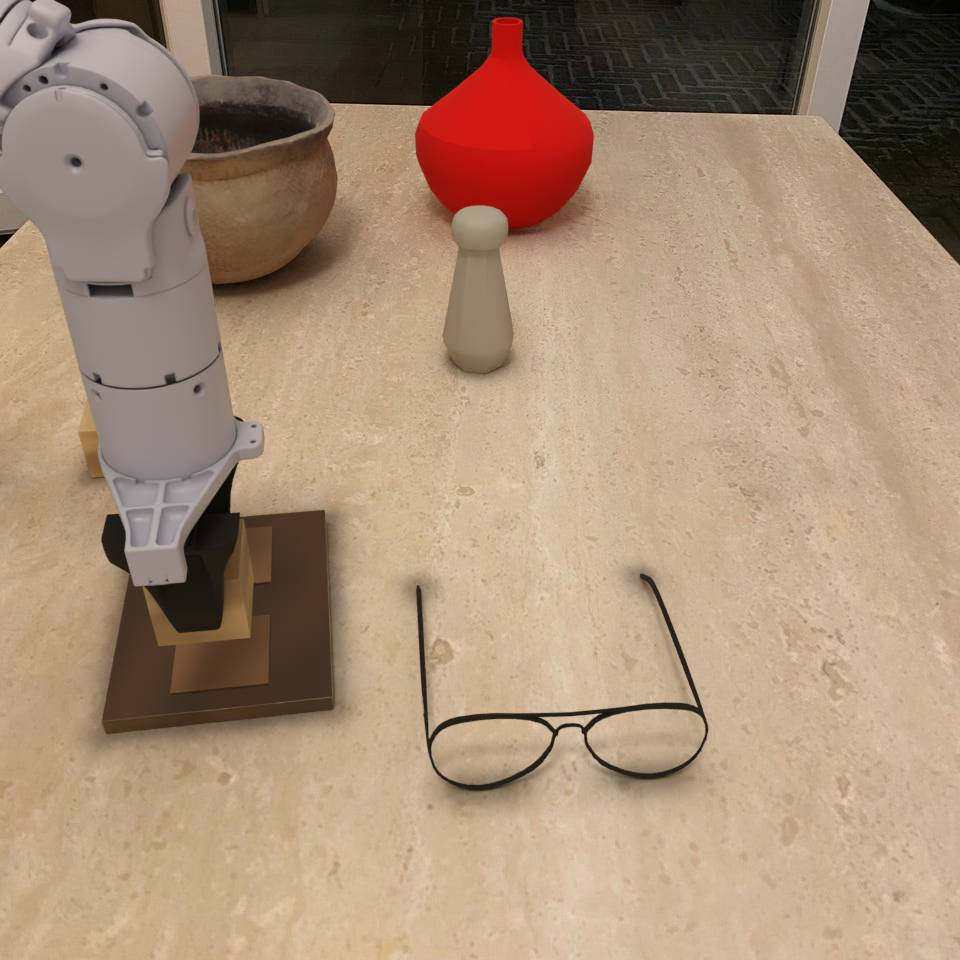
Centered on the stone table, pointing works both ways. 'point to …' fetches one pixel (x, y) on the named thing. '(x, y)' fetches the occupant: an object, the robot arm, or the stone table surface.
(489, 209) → the salt shaker
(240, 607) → the tile
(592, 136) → the vase
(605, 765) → the glasses
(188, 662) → the word board
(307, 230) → the ceramic bowl
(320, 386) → the stone table surface
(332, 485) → the stone table surface
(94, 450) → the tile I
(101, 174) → the robot arm
